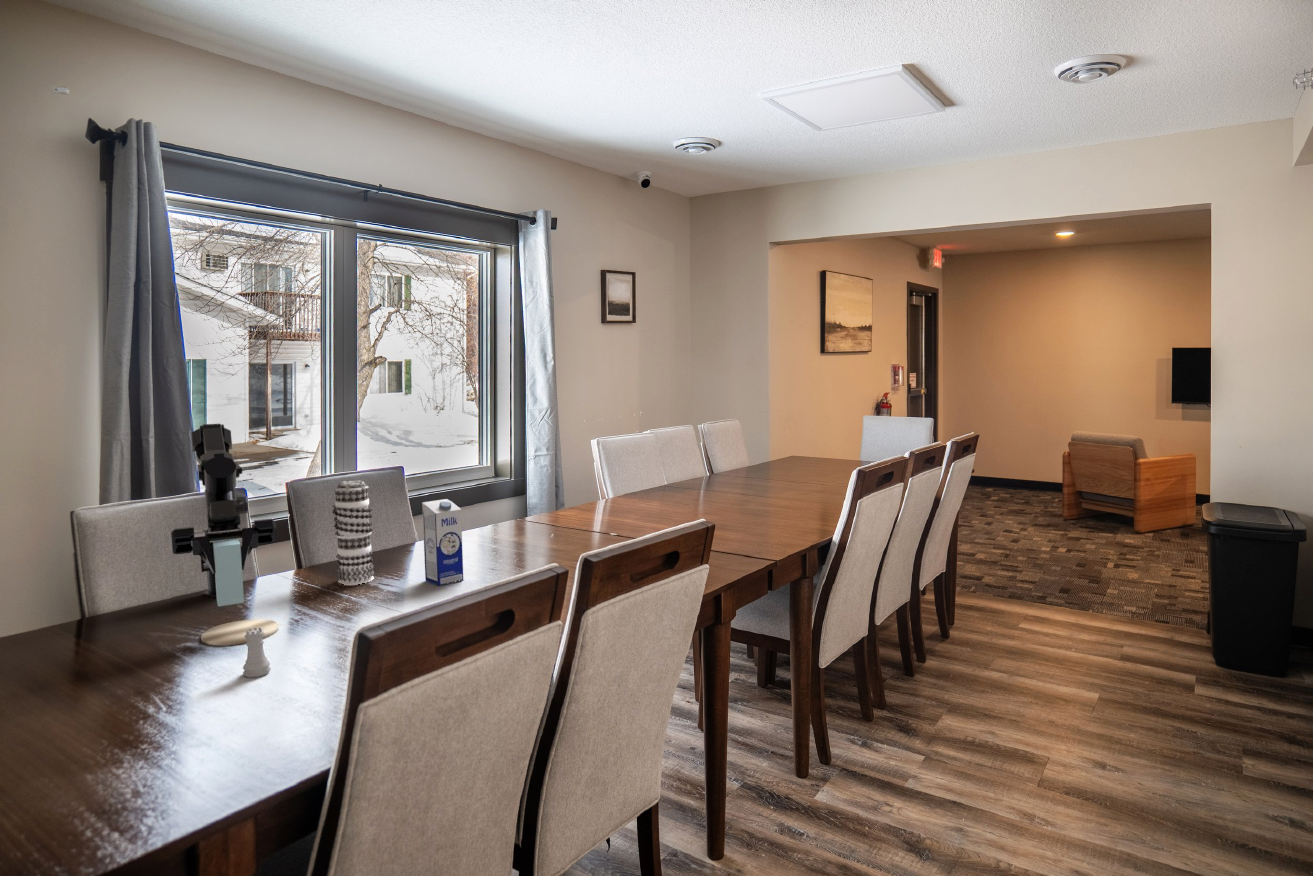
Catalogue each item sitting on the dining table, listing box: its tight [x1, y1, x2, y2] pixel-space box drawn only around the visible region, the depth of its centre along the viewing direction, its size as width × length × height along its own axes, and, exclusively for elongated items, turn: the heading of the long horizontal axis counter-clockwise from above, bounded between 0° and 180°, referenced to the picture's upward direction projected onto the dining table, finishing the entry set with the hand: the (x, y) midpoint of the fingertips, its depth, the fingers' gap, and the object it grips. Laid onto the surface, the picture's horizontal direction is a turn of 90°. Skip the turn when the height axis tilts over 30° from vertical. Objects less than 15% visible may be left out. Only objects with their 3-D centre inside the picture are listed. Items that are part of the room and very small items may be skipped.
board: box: [200, 618, 280, 647], centre depth 165 cm, size 14×14×1 cm
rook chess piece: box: [242, 628, 271, 679], centre depth 144 cm, size 4×4×8 cm
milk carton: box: [421, 498, 464, 587], centre depth 201 cm, size 7×7×20 cm
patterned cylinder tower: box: [332, 479, 375, 586], centre depth 202 cm, size 9×9×25 cm
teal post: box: [213, 539, 245, 607], centre depth 163 cm, size 5×5×12 cm
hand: (228, 571), depth 162 cm, fingers closed on teal post, 5 cm apart
